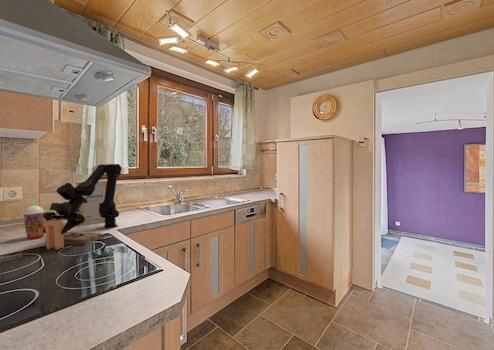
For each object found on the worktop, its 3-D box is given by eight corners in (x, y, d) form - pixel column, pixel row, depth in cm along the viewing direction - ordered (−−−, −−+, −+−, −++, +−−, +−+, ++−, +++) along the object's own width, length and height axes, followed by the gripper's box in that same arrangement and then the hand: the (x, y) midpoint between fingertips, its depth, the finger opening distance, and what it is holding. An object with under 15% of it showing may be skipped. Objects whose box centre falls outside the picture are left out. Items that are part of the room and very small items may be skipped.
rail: (64, 236, 121) (64, 231, 121) (101, 238, 118) (101, 233, 118) (45, 243, 112) (45, 238, 111) (85, 245, 109) (85, 240, 108)
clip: (53, 246, 107) (51, 219, 106) (64, 247, 106) (62, 219, 106) (46, 248, 104) (45, 221, 103) (57, 249, 103) (56, 221, 103)
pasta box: (78, 226, 141) (76, 181, 139) (79, 222, 149) (76, 180, 148) (112, 221, 151) (110, 180, 150) (110, 218, 160) (109, 179, 158)
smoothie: (22, 241, 114) (20, 202, 113) (27, 236, 121) (25, 200, 120) (44, 238, 119) (42, 200, 117) (47, 234, 126) (45, 198, 125)
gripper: (45, 195, 110) (20, 224, 99) (79, 196, 107) (57, 225, 97) (61, 208, 118) (40, 235, 107) (93, 209, 115) (75, 237, 105)
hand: (52, 233), depth 104 cm, fingers open, 9 cm apart
